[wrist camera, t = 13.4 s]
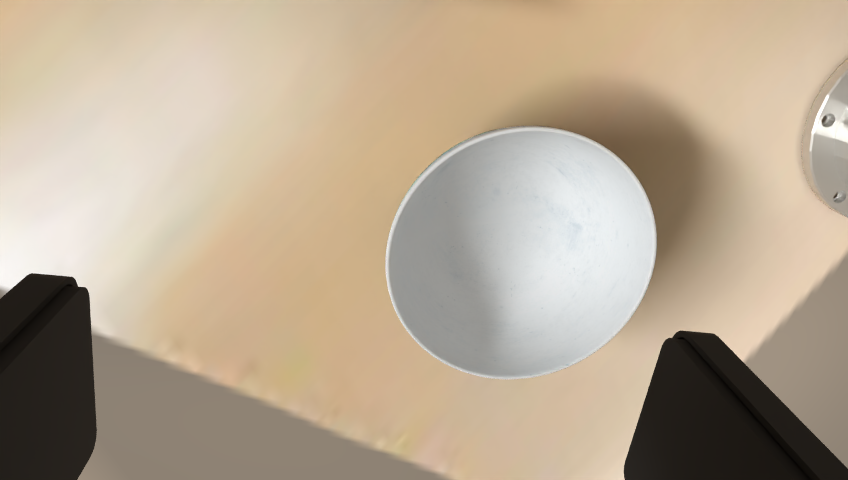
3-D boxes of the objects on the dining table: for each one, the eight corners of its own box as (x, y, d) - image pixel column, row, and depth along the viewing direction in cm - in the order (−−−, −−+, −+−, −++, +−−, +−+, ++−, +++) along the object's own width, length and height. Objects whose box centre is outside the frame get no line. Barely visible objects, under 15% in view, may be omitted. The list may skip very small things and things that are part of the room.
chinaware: (554, 338, 46) (589, 404, 39) (353, 284, 43) (351, 345, 36) (646, 143, 41) (705, 177, 34) (426, 67, 38) (440, 87, 31)
